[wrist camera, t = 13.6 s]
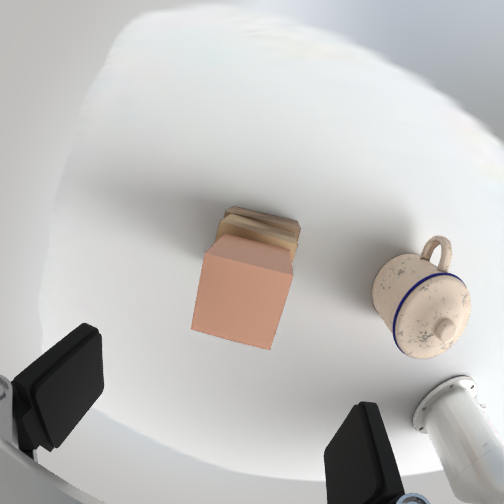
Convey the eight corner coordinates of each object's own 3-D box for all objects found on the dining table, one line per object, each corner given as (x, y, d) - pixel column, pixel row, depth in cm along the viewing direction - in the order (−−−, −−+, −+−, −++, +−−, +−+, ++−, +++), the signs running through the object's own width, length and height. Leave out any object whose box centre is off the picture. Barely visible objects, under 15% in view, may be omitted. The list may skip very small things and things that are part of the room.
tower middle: (294, 232, 26) (297, 245, 22) (274, 291, 28) (273, 314, 23) (231, 213, 26) (220, 220, 22) (214, 273, 28) (201, 292, 23)
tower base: (297, 221, 31) (300, 228, 26) (281, 281, 33) (281, 298, 28) (233, 206, 31) (225, 211, 26) (221, 266, 33) (211, 281, 28)
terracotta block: (290, 249, 22) (293, 275, 16) (273, 309, 23) (269, 350, 17) (224, 233, 22) (204, 252, 16) (212, 293, 23) (191, 329, 17)
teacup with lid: (419, 325, 32) (459, 376, 21) (359, 315, 33) (388, 372, 22) (449, 237, 29) (508, 263, 18) (389, 218, 30) (440, 239, 19)
